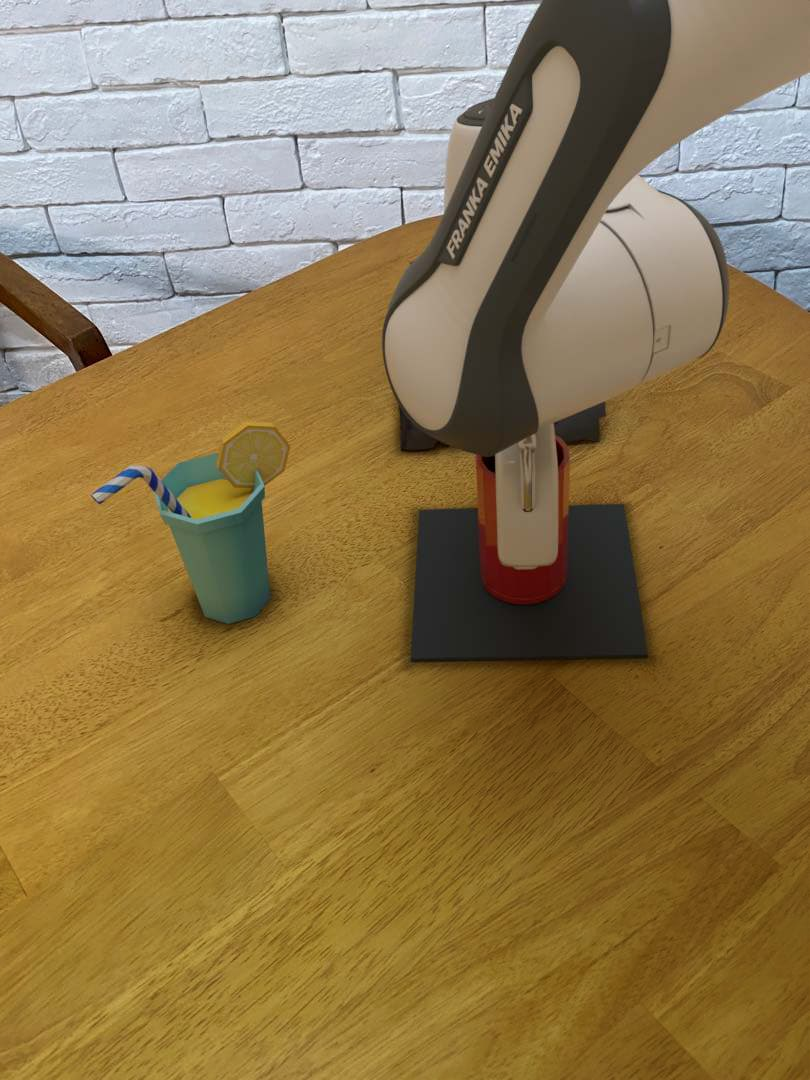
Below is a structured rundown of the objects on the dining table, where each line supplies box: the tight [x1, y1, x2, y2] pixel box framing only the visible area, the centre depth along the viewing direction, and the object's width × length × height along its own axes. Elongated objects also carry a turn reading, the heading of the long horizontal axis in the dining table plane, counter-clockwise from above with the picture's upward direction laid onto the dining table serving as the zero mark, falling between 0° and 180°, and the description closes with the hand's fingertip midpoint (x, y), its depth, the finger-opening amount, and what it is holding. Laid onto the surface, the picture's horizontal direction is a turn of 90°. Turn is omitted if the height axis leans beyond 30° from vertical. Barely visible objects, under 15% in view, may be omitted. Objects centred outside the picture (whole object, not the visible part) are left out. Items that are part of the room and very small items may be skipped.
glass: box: [475, 435, 571, 604], centre depth 79 cm, size 6×6×11 cm
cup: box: [90, 421, 291, 625], centre depth 78 cm, size 14×8×15 cm, turn 132°
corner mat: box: [410, 503, 649, 662], centre depth 83 cm, size 16×16×1 cm
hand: (523, 525), depth 79 cm, fingers closed on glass, 6 cm apart
